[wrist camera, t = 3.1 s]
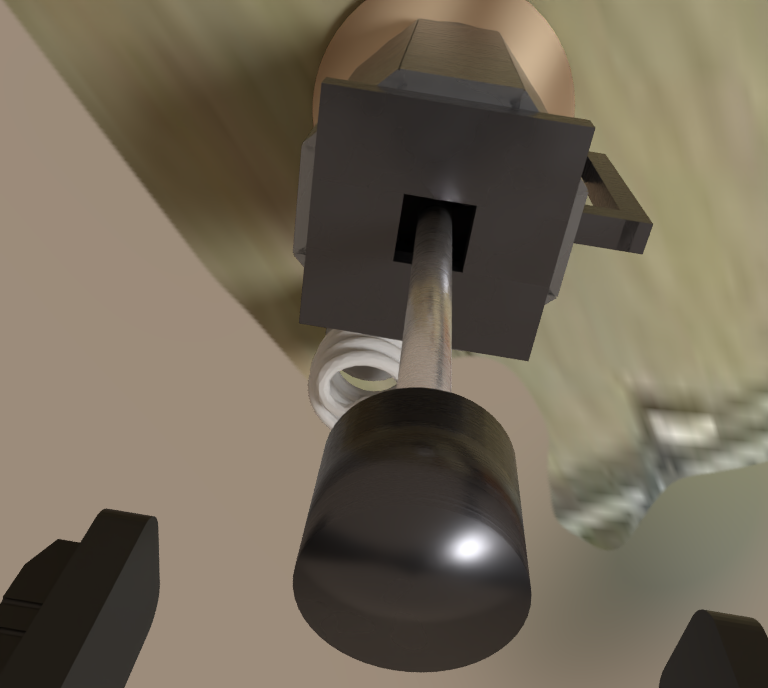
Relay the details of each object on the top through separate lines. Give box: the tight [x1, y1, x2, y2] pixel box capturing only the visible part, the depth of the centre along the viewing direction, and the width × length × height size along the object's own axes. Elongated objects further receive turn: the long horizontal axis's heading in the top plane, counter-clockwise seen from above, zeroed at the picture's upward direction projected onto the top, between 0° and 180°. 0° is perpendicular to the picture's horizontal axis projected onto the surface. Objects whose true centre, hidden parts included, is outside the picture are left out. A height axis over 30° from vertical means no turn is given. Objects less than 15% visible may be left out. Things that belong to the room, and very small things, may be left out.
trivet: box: [313, 0, 575, 126], centre depth 39 cm, size 14×14×1 cm
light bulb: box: [308, 328, 402, 430], centre depth 40 cm, size 6×6×12 cm
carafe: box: [293, 18, 653, 361], centre depth 31 cm, size 13×10×17 cm
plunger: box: [293, 194, 531, 672], centre depth 19 cm, size 7×7×20 cm
